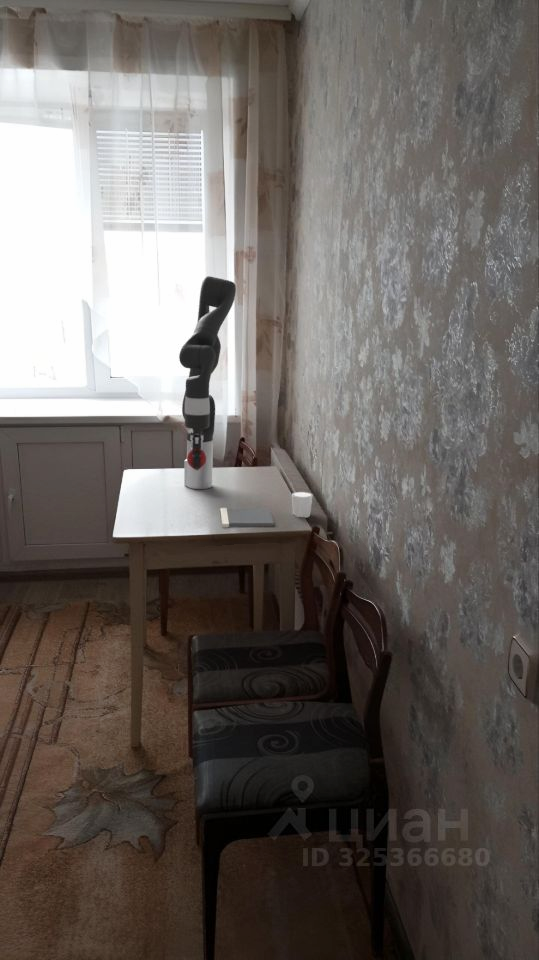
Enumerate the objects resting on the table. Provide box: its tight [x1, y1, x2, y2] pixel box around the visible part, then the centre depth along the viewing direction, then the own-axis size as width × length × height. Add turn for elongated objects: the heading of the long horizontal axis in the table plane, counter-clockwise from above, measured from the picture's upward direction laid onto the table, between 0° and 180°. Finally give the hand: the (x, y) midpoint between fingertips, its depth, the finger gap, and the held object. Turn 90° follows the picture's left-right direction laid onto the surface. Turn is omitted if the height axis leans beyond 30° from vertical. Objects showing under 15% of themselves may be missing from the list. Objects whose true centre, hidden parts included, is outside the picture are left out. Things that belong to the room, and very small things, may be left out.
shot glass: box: [291, 491, 314, 519], centre depth 242 cm, size 7×7×7 cm
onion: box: [186, 449, 206, 470], centre depth 230 cm, size 6×6×8 cm
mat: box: [219, 507, 275, 528], centre depth 237 cm, size 16×16×1 cm
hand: (196, 465), depth 231 cm, fingers closed on onion, 6 cm apart
